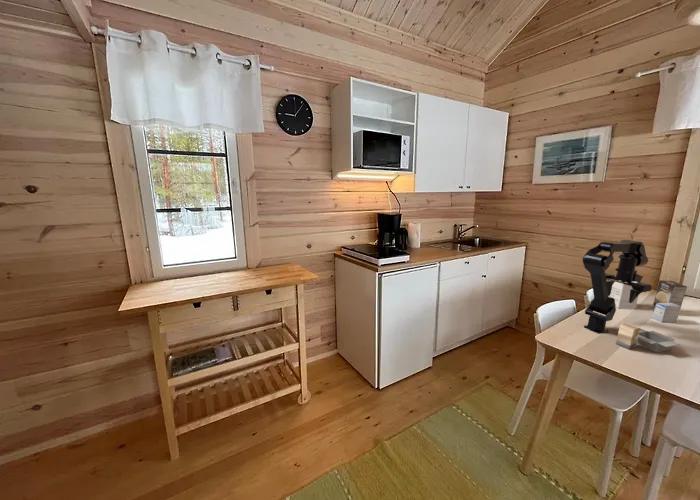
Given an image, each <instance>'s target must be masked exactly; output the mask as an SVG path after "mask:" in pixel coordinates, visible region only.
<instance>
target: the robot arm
mask: <svg viewBox="0 0 700 500" xmlns="http://www.w3.org/2000/svg"><path fill="white" fill-rule="evenodd" d="M601 252H606V253H609V254H608V255H603V254H599V253H601ZM620 252H621V253H622V254H620V255H618V258H619V262H618V266H617V267H616V268H615V270H614V271H616V275H615V274H611V273H609V272H606V271H607V270H608V268H610V265H611V264H612V262H613V261H614V253H620ZM582 263H583V267H584V269H585V270H587V272H588V273H590V280H591V286H592V292H593V299H592V300H591V301H590V303H589V304H588V306H587V307H586V309H584V314H585V315H587V316H589V317H588V323H587V324H586V325H583V327H584V328H585V329H587V330H589V331H592V332H594V333H596V334H602V333H608V332H609V330H608V329H606V326H607V325H606V324H607V322H610V321H612V320H613V318H614V317H615V314H616V311H617V307H615V306H616V305H615V300H614V298H611V297H608V296H610V294H611V290H612V285H613V284H614V282H618V283H622V284H625V285H629V286H632V288H633V289H631V290H630V297H629V303H632V302H633V301H634V300H635V299H636V297H637V296H638V297H639V295H640V294H642V293H647V292H651V291H652V289H653V287H652V285H651V284H649V283H645V282H641V281H642V279H643V277H644V276H642V275H640V274H638V273H637V272H638V270H636V267H640V266H646V265H647V264H648V263H649V258H648V257H647V253H646V249H645V245H644V243H643V241H636V240H630V239H622V240H620V241H617V242H615V241H614V242H613V241H609V242H607V241H600V243H599V244H598V245H597V246H595V247H592V248H590V249H589V250H588V251H587V252H586V253H585V254H584V255H583V257H582ZM632 281H633V282H632ZM625 282H626V283H625ZM634 282H638V283H634Z"/></svg>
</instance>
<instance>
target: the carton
mask: <svg viewBox="0 0 700 500" xmlns="http://www.w3.org/2000/svg"><path fill="white" fill-rule="evenodd" d="M636 345H638V346H640V347H642V348H645V349H646V350H649V351H652V352H654V353H659V352H666V351H670V350H672V347H675V346H681V344H680V343H677V342H676V339H675V338H672V337H671V336H670V337H669V336H667V335H665V334H662V333H659V332H657V331H655V330H652V331H651V330H650V331H648V330H645V329H642V328H640V332H639V336H638V340H637V344H636Z"/></svg>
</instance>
